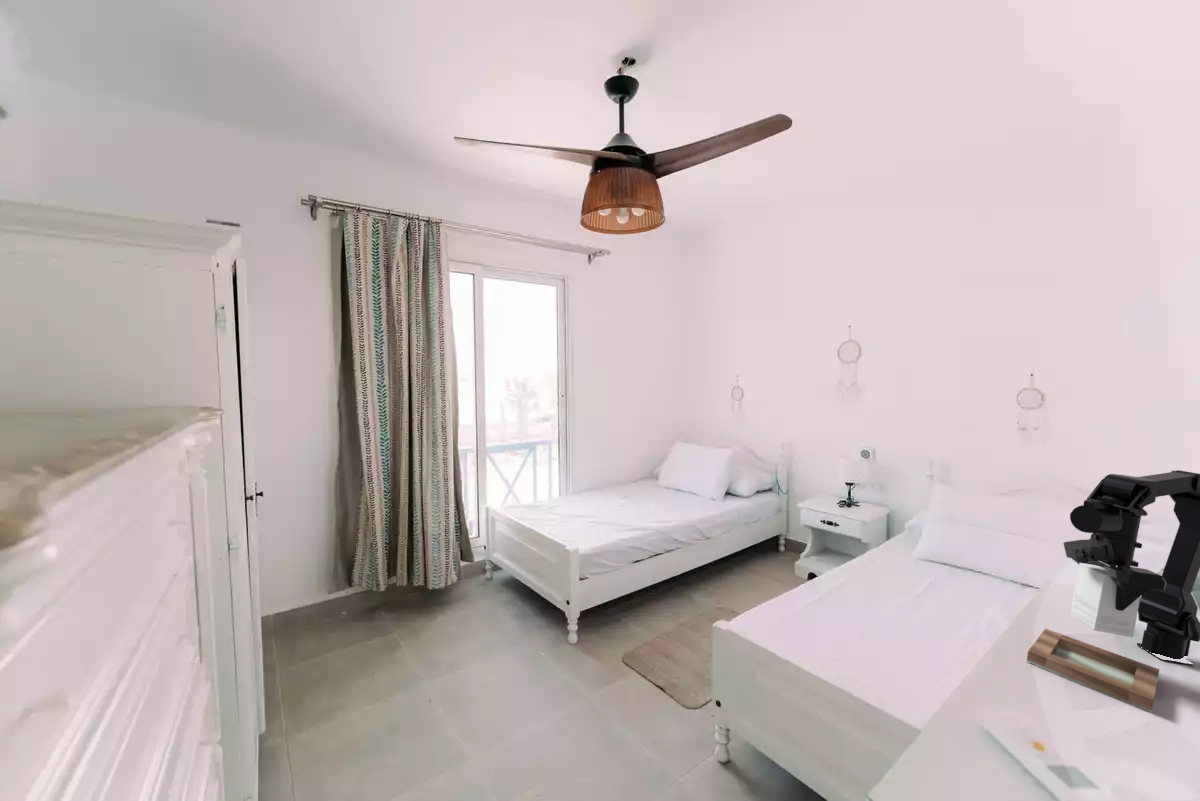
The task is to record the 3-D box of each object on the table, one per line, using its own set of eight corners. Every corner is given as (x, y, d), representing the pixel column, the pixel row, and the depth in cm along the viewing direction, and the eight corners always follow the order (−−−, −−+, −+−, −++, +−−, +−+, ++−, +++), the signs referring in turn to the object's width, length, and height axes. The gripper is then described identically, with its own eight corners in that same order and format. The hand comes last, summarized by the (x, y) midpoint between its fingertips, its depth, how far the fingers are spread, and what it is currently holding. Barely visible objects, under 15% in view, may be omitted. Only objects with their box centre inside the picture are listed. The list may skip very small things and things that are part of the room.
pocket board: (1043, 638, 117) (1045, 628, 116) (1157, 680, 103) (1159, 669, 102) (1026, 661, 105) (1028, 650, 105) (1151, 713, 91) (1153, 700, 91)
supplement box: (1134, 638, 104) (1145, 581, 103) (1093, 630, 105) (1104, 574, 105) (1106, 621, 111) (1116, 567, 110) (1068, 614, 113) (1078, 561, 112)
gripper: (1046, 515, 117) (1034, 578, 119) (1108, 541, 99) (1094, 614, 100) (1100, 523, 115) (1088, 587, 116) (1175, 550, 97) (1160, 626, 98)
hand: (1104, 602), depth 108 cm, fingers closed on supplement box, 7 cm apart
